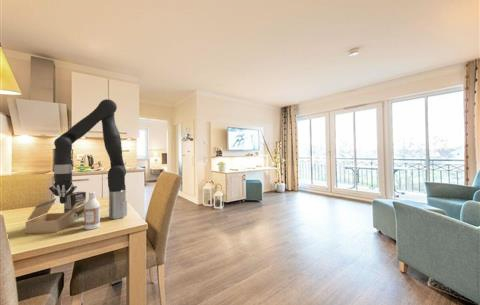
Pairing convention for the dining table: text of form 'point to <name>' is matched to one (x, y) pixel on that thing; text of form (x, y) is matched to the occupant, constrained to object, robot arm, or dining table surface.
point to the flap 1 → (41, 208)
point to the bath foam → (92, 212)
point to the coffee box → (75, 204)
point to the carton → (49, 223)
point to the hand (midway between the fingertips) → (63, 203)
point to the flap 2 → (73, 210)
